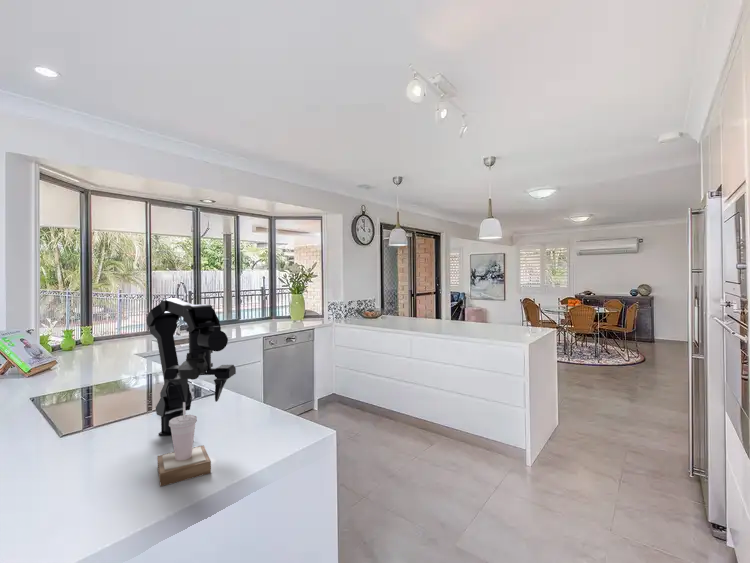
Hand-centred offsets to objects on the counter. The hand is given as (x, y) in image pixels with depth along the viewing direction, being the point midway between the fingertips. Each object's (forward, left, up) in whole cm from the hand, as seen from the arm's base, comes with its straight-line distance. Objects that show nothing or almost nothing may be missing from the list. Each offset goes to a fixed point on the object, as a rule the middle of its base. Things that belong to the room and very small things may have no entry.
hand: (200, 401), depth 111 cm
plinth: (+2, -14, -13) cm, 19 cm away
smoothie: (+2, -14, -10) cm, 17 cm away
